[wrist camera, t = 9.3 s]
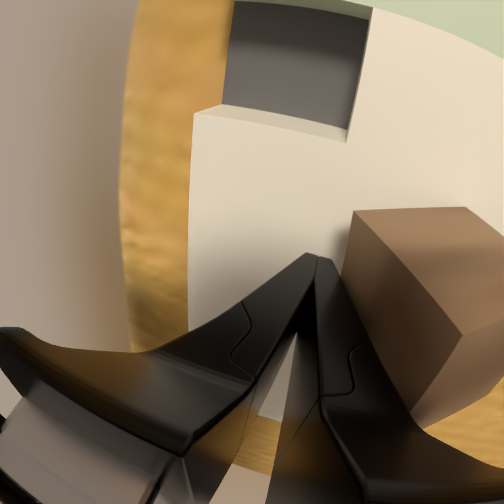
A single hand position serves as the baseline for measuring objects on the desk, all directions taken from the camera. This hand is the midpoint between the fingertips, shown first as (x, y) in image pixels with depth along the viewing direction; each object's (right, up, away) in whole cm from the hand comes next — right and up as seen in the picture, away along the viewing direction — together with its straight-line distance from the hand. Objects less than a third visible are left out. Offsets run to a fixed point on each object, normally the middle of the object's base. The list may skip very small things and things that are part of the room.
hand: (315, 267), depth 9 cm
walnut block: (+2, 0, -1) cm, 2 cm away
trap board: (+2, +2, +3) cm, 4 cm away
